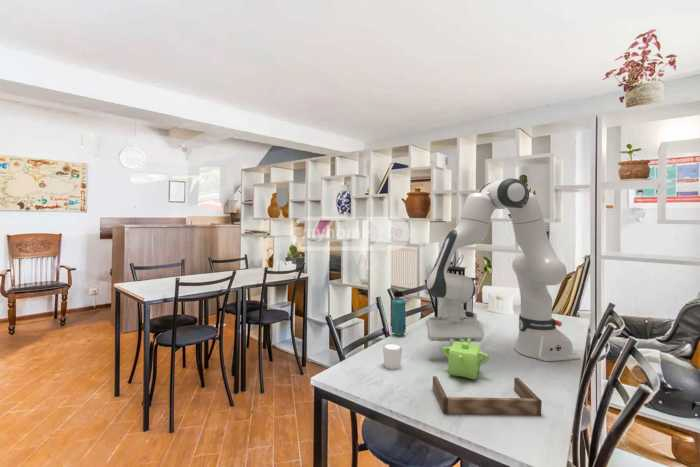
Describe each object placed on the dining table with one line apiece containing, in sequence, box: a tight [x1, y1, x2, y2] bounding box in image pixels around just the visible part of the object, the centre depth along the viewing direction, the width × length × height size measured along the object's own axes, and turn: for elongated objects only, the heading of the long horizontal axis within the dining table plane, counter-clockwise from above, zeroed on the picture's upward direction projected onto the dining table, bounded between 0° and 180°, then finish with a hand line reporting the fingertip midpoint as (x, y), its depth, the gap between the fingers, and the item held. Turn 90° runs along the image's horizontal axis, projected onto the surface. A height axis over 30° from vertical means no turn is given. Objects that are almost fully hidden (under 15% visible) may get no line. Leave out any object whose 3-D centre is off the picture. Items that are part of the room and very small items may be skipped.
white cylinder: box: [382, 343, 403, 370], centre depth 129 cm, size 7×7×7 cm
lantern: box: [434, 255, 478, 317], centre depth 176 cm, size 17×17×35 cm
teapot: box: [441, 338, 490, 381], centre depth 123 cm, size 15×13×11 cm
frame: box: [432, 375, 543, 416], centre depth 105 cm, size 26×14×4 cm, turn 89°
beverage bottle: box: [390, 290, 407, 335], centre depth 162 cm, size 6×7×20 cm
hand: (458, 351), depth 130 cm, fingers closed
